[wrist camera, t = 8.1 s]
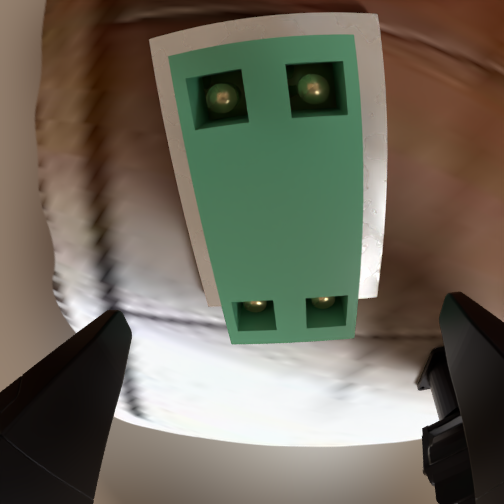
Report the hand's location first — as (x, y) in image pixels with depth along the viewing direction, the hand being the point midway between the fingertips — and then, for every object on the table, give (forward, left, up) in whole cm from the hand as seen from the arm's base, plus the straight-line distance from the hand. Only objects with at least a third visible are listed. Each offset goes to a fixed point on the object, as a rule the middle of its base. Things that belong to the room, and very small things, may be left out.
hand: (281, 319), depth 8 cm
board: (0, 0, -8) cm, 8 cm away
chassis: (0, 0, -12) cm, 12 cm away
